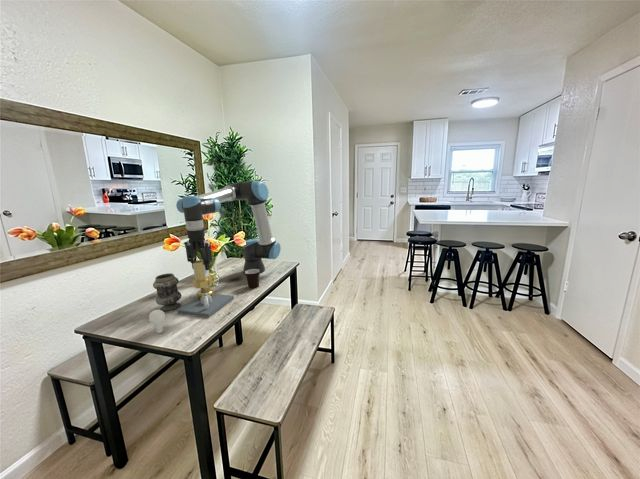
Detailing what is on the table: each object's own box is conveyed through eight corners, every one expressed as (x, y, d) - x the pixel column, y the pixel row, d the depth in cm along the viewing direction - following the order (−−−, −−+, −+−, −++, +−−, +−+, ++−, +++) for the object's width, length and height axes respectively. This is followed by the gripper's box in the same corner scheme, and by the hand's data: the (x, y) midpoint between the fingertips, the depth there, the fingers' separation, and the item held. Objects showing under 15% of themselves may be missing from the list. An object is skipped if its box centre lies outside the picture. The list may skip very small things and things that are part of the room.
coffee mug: (257, 289, 164) (255, 274, 162) (244, 289, 166) (242, 273, 164) (264, 282, 175) (263, 267, 173) (252, 281, 177) (250, 267, 175)
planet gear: (201, 280, 140) (198, 258, 138) (216, 281, 138) (213, 259, 135) (189, 287, 132) (185, 263, 129) (204, 289, 130) (201, 264, 127)
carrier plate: (205, 295, 159) (203, 281, 157) (234, 298, 153) (232, 284, 151) (177, 313, 139) (174, 297, 137) (209, 317, 134) (206, 300, 132)
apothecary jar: (174, 300, 154) (168, 270, 150) (187, 304, 148) (182, 273, 144) (152, 310, 144) (146, 278, 139) (166, 315, 138) (160, 281, 134)
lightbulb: (153, 338, 118) (148, 315, 115) (151, 332, 123) (147, 310, 120) (168, 333, 121) (164, 310, 119) (166, 327, 126) (162, 305, 124)
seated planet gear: (205, 292, 159) (202, 272, 156) (218, 293, 156) (215, 273, 153) (193, 299, 150) (190, 278, 147) (207, 300, 148) (204, 279, 145)
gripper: (173, 230, 128) (181, 277, 133) (206, 231, 123) (212, 279, 128) (185, 227, 135) (192, 271, 140) (216, 228, 130) (222, 274, 135)
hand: (202, 275), depth 134 cm, fingers closed on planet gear, 5 cm apart
